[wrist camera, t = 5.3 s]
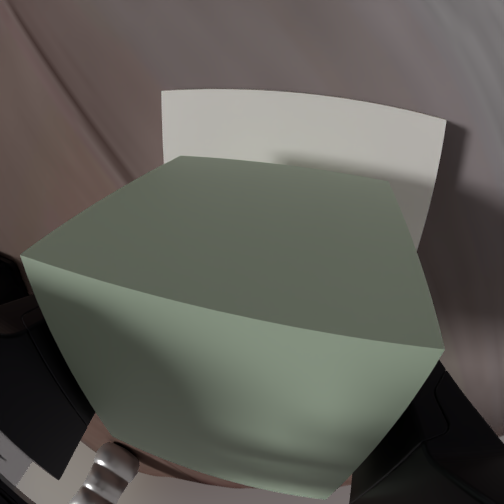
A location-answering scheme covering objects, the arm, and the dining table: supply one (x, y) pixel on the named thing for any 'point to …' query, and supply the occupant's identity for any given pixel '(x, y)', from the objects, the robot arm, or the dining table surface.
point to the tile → (311, 137)
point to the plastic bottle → (107, 476)
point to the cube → (243, 318)
